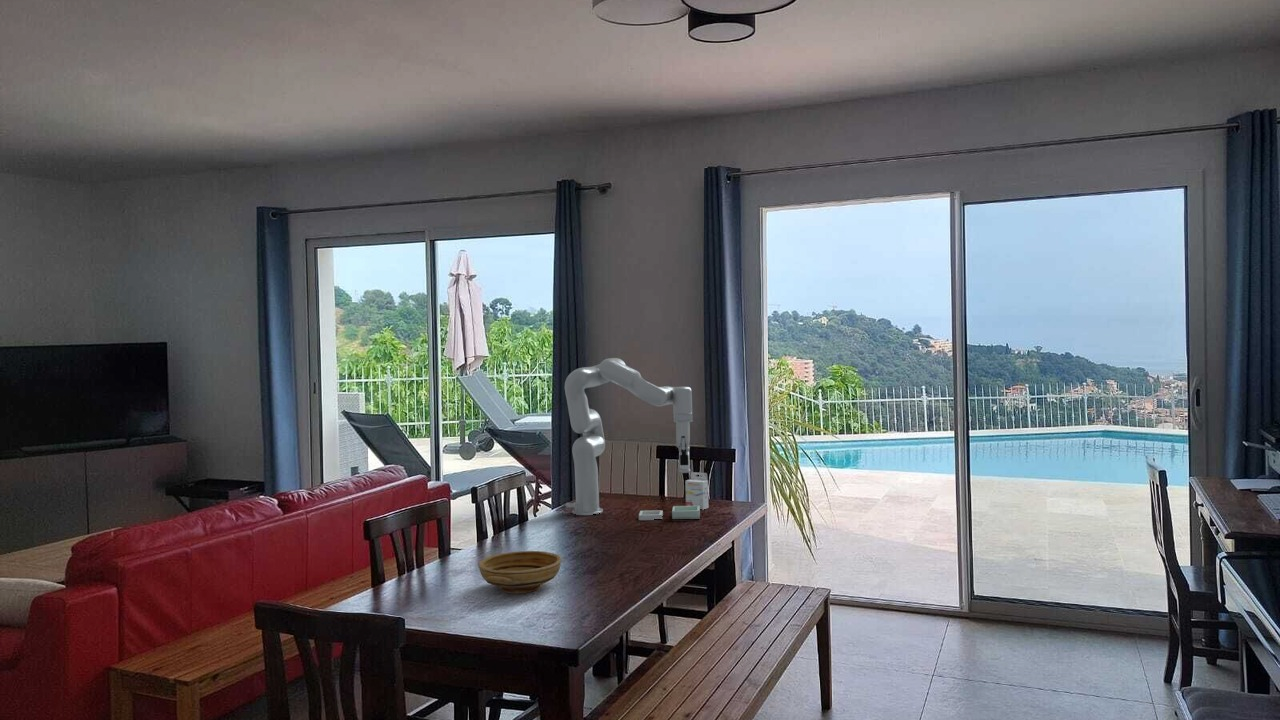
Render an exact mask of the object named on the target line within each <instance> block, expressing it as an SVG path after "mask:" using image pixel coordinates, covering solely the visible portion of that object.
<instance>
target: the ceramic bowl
mask: <svg viewBox="0 0 1280 720" xmlns="http://www.w3.org/2000/svg"><path fill="white" fill-rule="evenodd" d="M562 561H563V558H562V557H561V556H560V555H559V554H556V553H554V552H550V551H549V552H548V551H541V550H540V551H539V550H518V551H511V552H509V551H508V552H504V553H503V552H502V553H498V554H494V555H490V556H487V557H485V558H483V559H481V560H479V562H478V563H477V566H478V568H479V572H480V573H479V574H480V576H481V577H482V578H483V580H485V582H487V583H488V584H489V585H492V586H494V587H498V588H500V589H501V590H502V591H503V592H504V593H507V592H509V593H508V594H528V593H532V591H533V592H535V590H536V591H537V590H539V589H540V588H541V586H542V585H543V584H546V583H547V582H550V581H552V580H553V579H555V577H556V576H557V575H558V573H559V571H560V568H561V564H562ZM527 592H528V593H527Z"/></svg>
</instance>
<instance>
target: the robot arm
mask: <svg viewBox="0 0 1280 720" xmlns="http://www.w3.org/2000/svg"><path fill="white" fill-rule="evenodd" d="M610 382H611V383H613V384H616V385H617V386H620V387H622V388H623V389H625V390H627V391H629V392H630V393H631V394H632V395H634V396H635V397H637V398H638V399H640V400H642V401H644V402H646V403H648V404H650V405H652V406H655V407H663V406H664V407H665V406H668V405H672V408H673V410H672V413H673V422H674V423H676V424H675V426H676V427H675V432H676V433H675V436H676V437H675V439H676V448H679V447H680V463H679V466H680V465H688V455H687V447H690V443H691V442H690V441H691V437H690V436H691V426H690V423H692V422H693V421H694V420H693V418H694V417H693V416H694V415H693V392H692V391H693V390H692V388H691V387H690V386H669V385H664V386H657V385H655V384H653V383H651V382H649V381H647V380H646V379H644V377H642V375H641V373H640V372H639V371H638V370H636V369H634V368H632V367H630V366H629V365H627V364H626V363H625V361H624V360H623V359H621V358H619V357H611V358H606V359H604V360H602V361H601V362H600V363H599V364H596V365H593V366H585V367H584V366H583V367H579V368H576V369H575V370H573V371H571V372H570V373H569V374H568V376H567V377H566V379H565V382H564V392H565V398H566V403H567V409H568V416H569V422H570V426H571V429H572V431H573V432H574V433H576V434H582V436H581V437H578V438H577V439H575V441H574V443H573V445H572V447H571V448H572V449H571V451H572V457H573V464H574V465H573V466H574V483H575V502H572V503H570V502H566V503H565V509H572V514H573V515H575V514H576V515H575V516H594V515H593V514H596V515H600V514H602V513H604V509H603V508H602V507H600V494H599V492H600V491H599V490H600V489H599V469H598V462H597V458H596V457H599V456H601V454H603V453H604V451H605V448H606V439H605V434H604V433H605V432H604V428H603V421H602V418H601V416H600V414H599V412H598V411H596V410H595V409H594V408H593V409H592V408H590V406H589V400H588V397H587V394H586V392H585V389H588V388H595V387H598V386H601V385H604V384H607V383H610ZM681 446H682V447H681ZM685 446H686V447H685ZM599 513H600V514H599Z"/></svg>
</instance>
